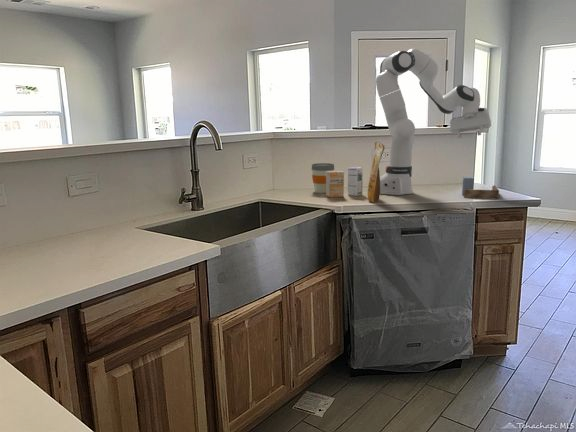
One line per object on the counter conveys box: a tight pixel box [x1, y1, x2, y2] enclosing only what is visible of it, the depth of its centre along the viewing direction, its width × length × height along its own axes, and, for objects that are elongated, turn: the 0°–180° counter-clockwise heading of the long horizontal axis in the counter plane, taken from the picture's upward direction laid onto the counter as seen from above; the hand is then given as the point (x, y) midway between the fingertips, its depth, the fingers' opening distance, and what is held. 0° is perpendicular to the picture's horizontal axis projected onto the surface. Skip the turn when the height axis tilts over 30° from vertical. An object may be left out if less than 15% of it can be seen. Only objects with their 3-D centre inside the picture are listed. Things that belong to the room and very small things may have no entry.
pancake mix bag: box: [367, 141, 385, 203], centre depth 221 cm, size 7×19×28 cm, turn 173°
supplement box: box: [325, 170, 345, 198], centre depth 234 cm, size 8×5×13 cm, turn 105°
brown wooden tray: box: [463, 185, 500, 200], centre depth 231 cm, size 16×17×4 cm
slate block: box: [461, 176, 475, 195], centre depth 233 cm, size 5×5×9 cm
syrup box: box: [347, 166, 363, 197], centre depth 238 cm, size 6×6×14 cm
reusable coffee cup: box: [311, 162, 335, 194], centre depth 250 cm, size 12×13×15 cm
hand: (469, 136), depth 236 cm, fingers open, 8 cm apart
